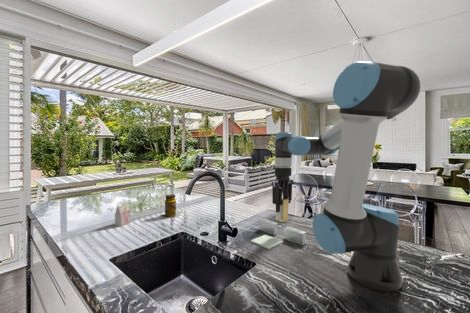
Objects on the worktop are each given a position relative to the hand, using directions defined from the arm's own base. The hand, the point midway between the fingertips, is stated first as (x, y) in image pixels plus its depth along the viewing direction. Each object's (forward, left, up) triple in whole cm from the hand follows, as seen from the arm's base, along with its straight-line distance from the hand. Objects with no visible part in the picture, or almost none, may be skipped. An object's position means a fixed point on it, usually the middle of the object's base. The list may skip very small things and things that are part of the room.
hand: (281, 217), depth 109 cm
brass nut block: (0, 0, -1) cm, 1 cm away
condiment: (+60, +25, -9) cm, 66 cm away
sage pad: (0, +10, -9) cm, 13 cm away
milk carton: (+63, +49, -9) cm, 80 cm away
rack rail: (0, 0, -9) cm, 9 cm away
